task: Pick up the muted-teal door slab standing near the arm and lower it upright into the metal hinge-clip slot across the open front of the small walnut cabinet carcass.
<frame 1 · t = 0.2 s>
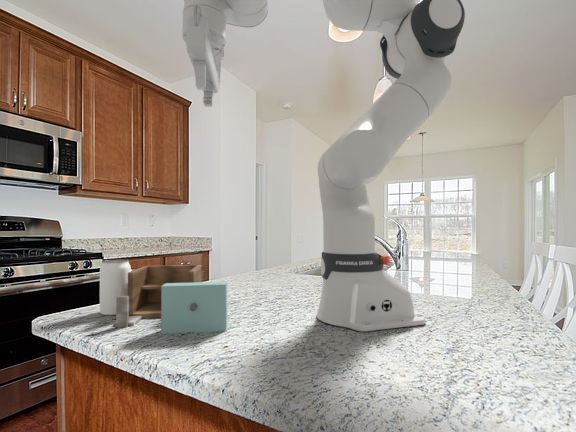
hand: (204, 97, 68), 47 cm above the worktop, fingers open, 8 cm apart
cabinet: (167, 310, 77), on the worktop
can: (115, 312, 76), on the worktop
door: (195, 330, 63), on the worktop
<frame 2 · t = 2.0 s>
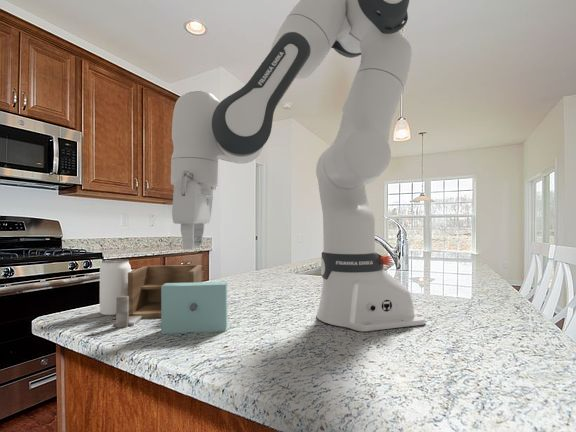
hand: (193, 247, 63), 16 cm above the worktop, fingers open, 8 cm apart
nothing on the worktop moved.
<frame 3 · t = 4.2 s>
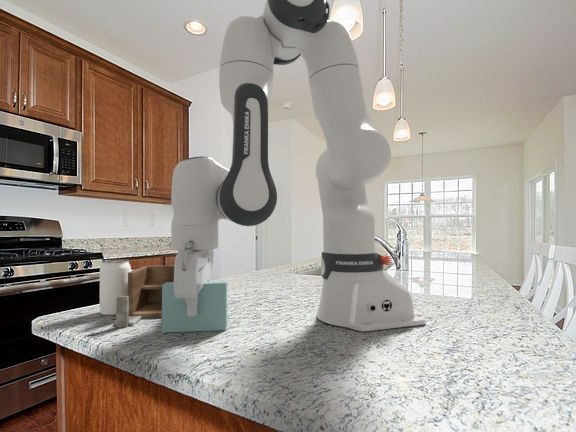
hand: (195, 311, 63), 4 cm above the worktop, fingers closed on door, 4 cm apart
door: (195, 329, 63), on the worktop, touching gripper
everything else where it was.
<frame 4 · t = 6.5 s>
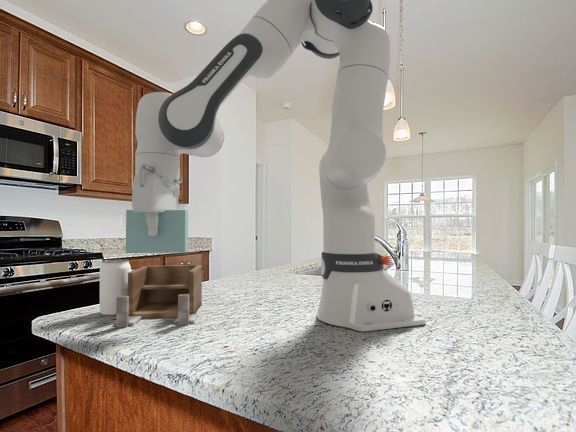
hand: (157, 235, 69), 18 cm above the worktop, fingers closed on door, 4 cm apart
door: (157, 252, 69), point 15 cm above the worktop, touching gripper
everything else where it was.
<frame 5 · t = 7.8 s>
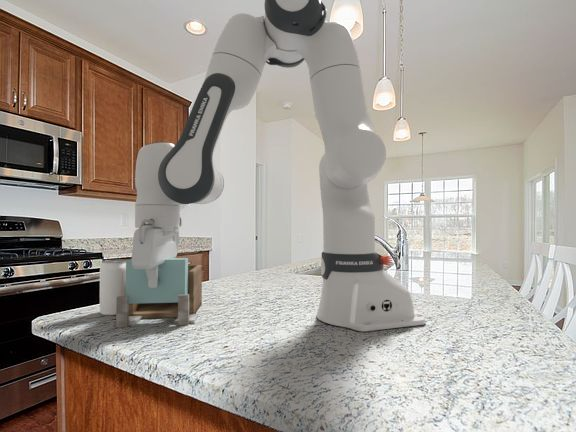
hand: (157, 284, 69), 8 cm above the worktop, fingers closed on door, 4 cm apart
door: (157, 301, 69), point 4 cm above the worktop, touching gripper
everything else where it was.
when the fingers open (5 cm above the worktop, at t = 8.9 s): door stays where it is, resting on cabinet.
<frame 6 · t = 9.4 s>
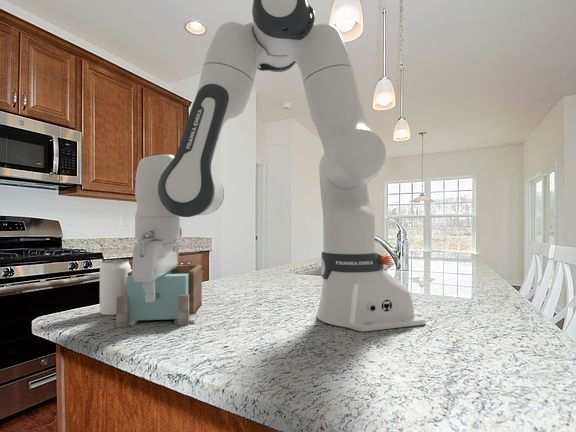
hand: (157, 296, 69), 5 cm above the worktop, fingers open, 8 cm apart
door: (158, 317, 69), point 1 cm above the worktop, touching cabinet
everything else where it was.
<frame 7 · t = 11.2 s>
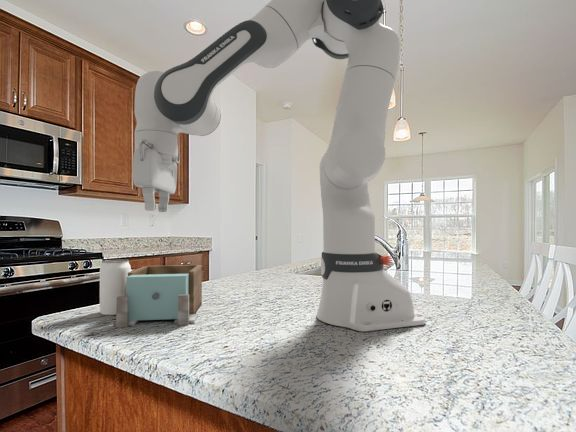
hand: (157, 211, 71), 23 cm above the worktop, fingers open, 8 cm apart
nothing on the worktop moved.
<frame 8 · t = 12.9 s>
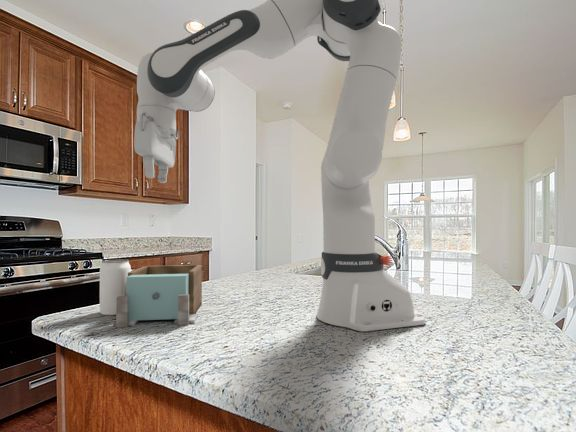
hand: (156, 180, 78), 31 cm above the worktop, fingers open, 8 cm apart
nothing on the worktop moved.
at the end: door 0.4 cm from the target spot on the cabinet, point 0.6 cm above the cabinet's base; door tilted 0°; the gripper is holding nothing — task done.
